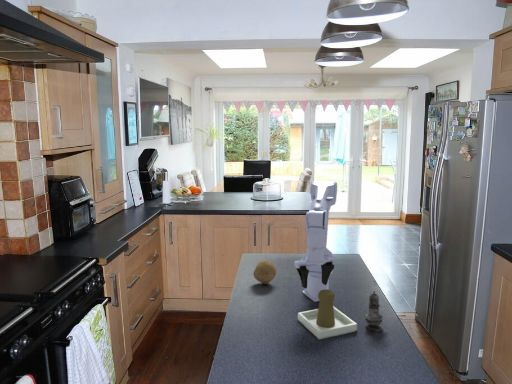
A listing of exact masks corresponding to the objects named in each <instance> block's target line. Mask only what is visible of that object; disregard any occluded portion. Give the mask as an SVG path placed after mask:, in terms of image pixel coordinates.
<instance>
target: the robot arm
mask: <svg viewBox="0 0 512 384" xmlns="http://www.w3.org/2000/svg"><path fill="white" fill-rule="evenodd" d="M309 189H310V190H309V191H310V192H309V193H310V200H311V202H310V206H309V211H306V214H305V231H306V256H305V257H304V258H301V259H299V260H294V262H293V265H294V266H293V267H294V268H295V270H296V271H297V273H298V276H299V280H300V282H301V286H302V288H304V290H302V294H305V296H307V298H309V299H310V300H312V301H313V302H314V303H315V302H320V300H319V298H318V294H319V292H320V291H321V290H325V289H326V290H330V289H329V288H330V287H329V285H330V284H329V283H330V281H329V280H330V275H332V274H333V271H334V269H335V264H336V257H335V256H334V254H333V252H332V251H331V250H329V248H327V245H328V244H327V241H328V229H329V227H328V226H329V215H330V210H331V207H332V206H335V205H336V202H337V195H338V182H337V181H336V180H334V181H332V180H331V181H330V180H329V181H328V180H312V181H310V188H309Z"/></svg>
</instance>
